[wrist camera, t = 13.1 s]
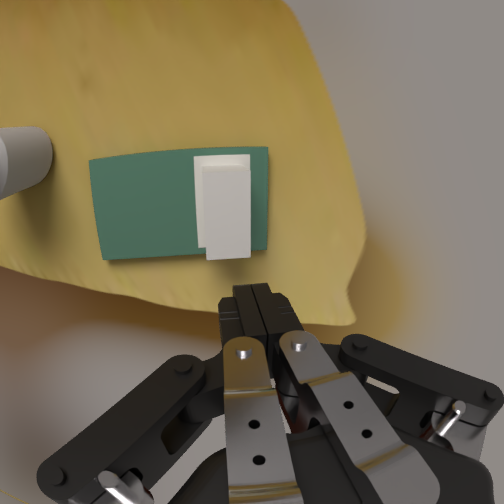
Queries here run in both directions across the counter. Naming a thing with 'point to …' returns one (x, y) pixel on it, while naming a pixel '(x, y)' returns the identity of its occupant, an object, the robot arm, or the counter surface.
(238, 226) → the block
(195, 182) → the board
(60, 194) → the counter surface
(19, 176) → the can
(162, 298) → the counter surface
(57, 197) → the counter surface
